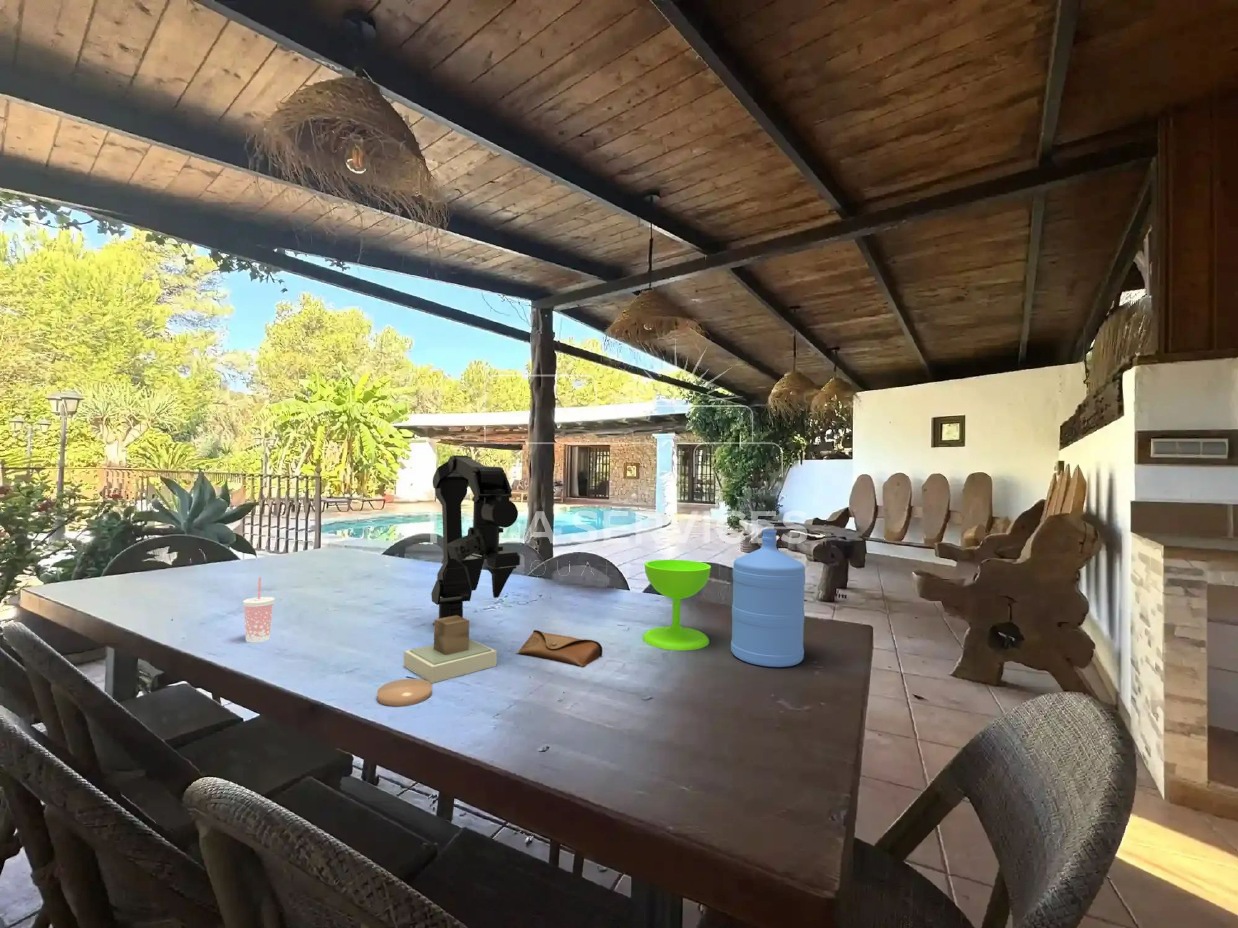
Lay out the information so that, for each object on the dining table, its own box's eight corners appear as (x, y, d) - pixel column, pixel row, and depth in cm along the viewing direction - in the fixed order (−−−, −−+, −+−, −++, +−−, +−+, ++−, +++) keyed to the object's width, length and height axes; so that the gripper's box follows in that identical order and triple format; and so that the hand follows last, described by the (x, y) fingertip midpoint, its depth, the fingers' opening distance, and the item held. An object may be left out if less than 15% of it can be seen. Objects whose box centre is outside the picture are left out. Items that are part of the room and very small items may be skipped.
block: (433, 648, 112) (434, 619, 112) (456, 643, 116) (457, 615, 116) (445, 655, 108) (446, 624, 109) (468, 649, 112) (469, 620, 112)
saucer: (368, 694, 97) (368, 687, 97) (417, 681, 103) (418, 674, 103) (390, 710, 91) (390, 703, 91) (441, 696, 97) (441, 689, 97)
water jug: (808, 671, 114) (811, 535, 114) (730, 664, 117) (733, 532, 117) (799, 648, 129) (801, 528, 129) (730, 642, 132) (733, 525, 132)
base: (403, 666, 111) (404, 649, 111) (466, 651, 121) (466, 635, 121) (431, 683, 103) (432, 665, 103) (496, 665, 113) (496, 649, 113)
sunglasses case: (511, 653, 120) (521, 623, 123) (526, 661, 125) (535, 632, 129) (585, 667, 113) (593, 635, 116) (597, 675, 118) (605, 644, 121)
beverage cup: (270, 641, 124) (272, 579, 124) (238, 644, 122) (240, 581, 122) (276, 634, 130) (278, 574, 130) (245, 636, 128) (247, 575, 128)
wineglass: (635, 645, 128) (637, 567, 128) (651, 627, 143) (653, 557, 144) (704, 653, 123) (706, 573, 124) (713, 633, 139) (714, 562, 139)
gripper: (432, 521, 123) (430, 591, 123) (476, 529, 110) (474, 607, 110) (476, 519, 131) (474, 585, 131) (522, 526, 118) (520, 599, 118)
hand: (484, 593), depth 122 cm, fingers open, 9 cm apart
